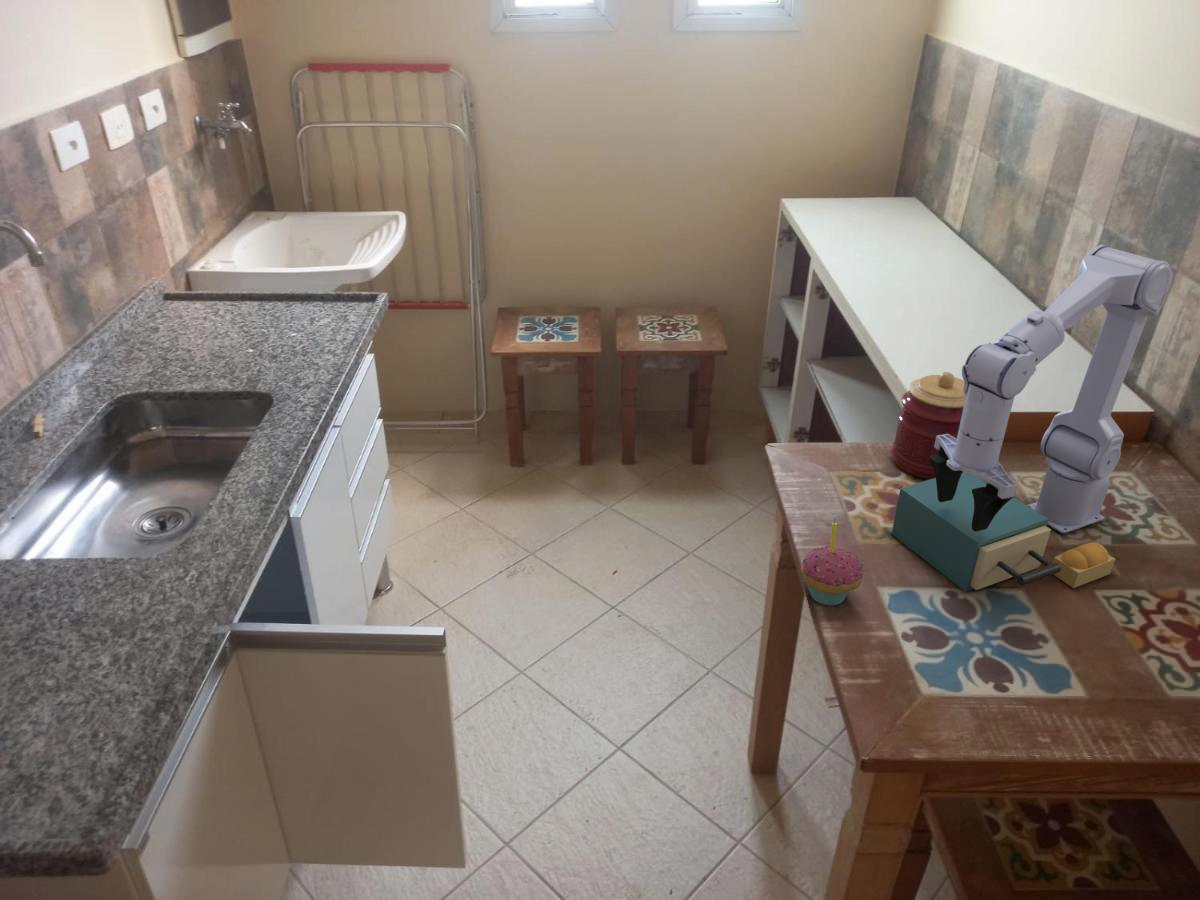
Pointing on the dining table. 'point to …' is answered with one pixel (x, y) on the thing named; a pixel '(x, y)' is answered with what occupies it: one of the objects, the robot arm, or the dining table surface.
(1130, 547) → the dining table surface
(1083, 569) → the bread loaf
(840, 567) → the cupcake
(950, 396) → the kitchen canister
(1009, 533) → the cabinet
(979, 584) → the drawer
